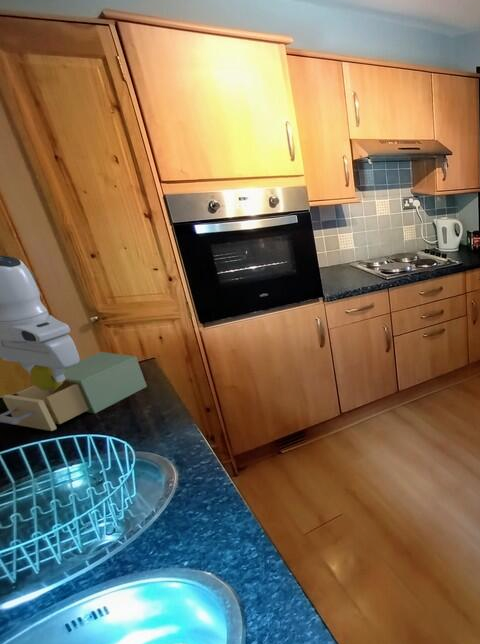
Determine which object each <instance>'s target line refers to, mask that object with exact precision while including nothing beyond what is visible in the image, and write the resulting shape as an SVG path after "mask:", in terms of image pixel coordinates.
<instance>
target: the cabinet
mask: <svg viewBox="0 0 480 644" xmlns="http://www.w3.org/2000/svg"><path fill="white" fill-rule="evenodd" d="M63 374H64V376H65V380H64V381H70V382H77V383H80V385H81V387H82V390H83V392H84V394H85V396H86V399H87V401H88V403H89V406H90V408H91V409H89V410H87V411H85V412H84V413H89V414H97V413H99V412H101V411H103V410H105V409H106V408H108V407H111V406H112V405H115V404H117V403H119V402H120V401H122V400H124V399H126V398H128V397H130V396H132V395H134V394H136V393H137V392H139V391H141V390H143V389H145V388H147V387H148V384H147V383H146V380H145V377H144V374H143V371H142V368H141V366H140V363H139V361H138V358H137V356H136V355H129V354H128V355H127V354H120V353H111V352H103V351H99V352H97V353H94V354H93V355H90V356H87V357H85V358H83V359H80V361H79V363H78V364H77V365H75V366H73V367H70V368H68V369H65V370H64V373H63Z"/></svg>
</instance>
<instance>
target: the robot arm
mask: <svg viewBox="0 0 480 644" xmlns="http://www.w3.org/2000/svg"><path fill="white" fill-rule="evenodd" d="M70 333H71V328H70V326H69V324H67V323H65V322H63V321H60V320H59V319H57V318H55V317H54V316H52V315H50V314H49V311H48V309H47V307H46V306H45V305H44V303H43V302H42V300H41V292H40V289H39V287H38V280H37V278H36V276H35V274H34V273H33V272H32V271H31V270H30V269H29V268H28V267H27V265H26V264H25V263H24V262H23V261H22V260H21V259H19V258H17V257H13V256H11V255H10V256H9V255H0V358H1V359H2V360H3V361H7V362H13V363H18V364H19V363H20V366H21V367H22V368H23V369H24V370H25V371H26V372H27V373H28V374H29V375H30V371H31V369H32V368H33V366H35V365H37V366H43V367H49V368H50V370H51V371H53V375H52V376H51V379H52V381H53V382H58V383H60V382H62V381H64V380H65V376H64V374H63V373H64V370H65V369H68V368H70V367H73V366H75V365H77V364H78V363H79V361H80V360H81V358H80V355H79V352H78V349H77V346H76V344H75V342H74V340H73V338H72V337H71V336H70Z"/></svg>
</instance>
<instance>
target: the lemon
mask: <svg viewBox="0 0 480 644" xmlns="http://www.w3.org/2000/svg"><path fill="white" fill-rule="evenodd" d="M52 375H53V371H51V370H50V368H49V367H43V366H37V365H35V366H33V368H32V369H31V371H30V374H29V376H30V377H29V378H30V380H31V382H32V384H33V386H34V385H35V386H36V387H38V388H40V389H43V390H51V391H55V390H56V389H57V387H59V386H60V385H61V384H62V383H63V381H62V382H60V383H58V382H53V381H52V379H51V376H52Z"/></svg>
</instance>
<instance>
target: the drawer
mask: <svg viewBox="0 0 480 644" xmlns="http://www.w3.org/2000/svg"><path fill="white" fill-rule="evenodd" d="M15 393H16V395H14V394H5V395H2V396H1V398H2V400H3V402H4V404H5V405H6V408H7V411H6V412H3V413H0V423H4V424H8V425H9V424H10V425H14V426H15V425H16V426H21V427H27V428H32V429H37V430H43V431H49V432H53V431H55V430H57V425H61V424H64V423H65V422H68V421H70V420H72V419H73V418H75V417H78V416H80V415H82V414H83V413H86V412H85V411H87V410H89V409H91V408H90V406H89V403H88V401H87V399H86V396H85V394H84V392H83V390H82V387H81V385H80V383H77V382H70V381H63V383H62V384H61V385H60V386H59V387H57V389H56V390H55V391H51V390H43V389H40V388H38V387H36V386H35V385H34V384H33V385H31V386H29V387H26V388H24V389H22V390H20V391H16V392H15ZM8 415H11V416H8Z"/></svg>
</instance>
